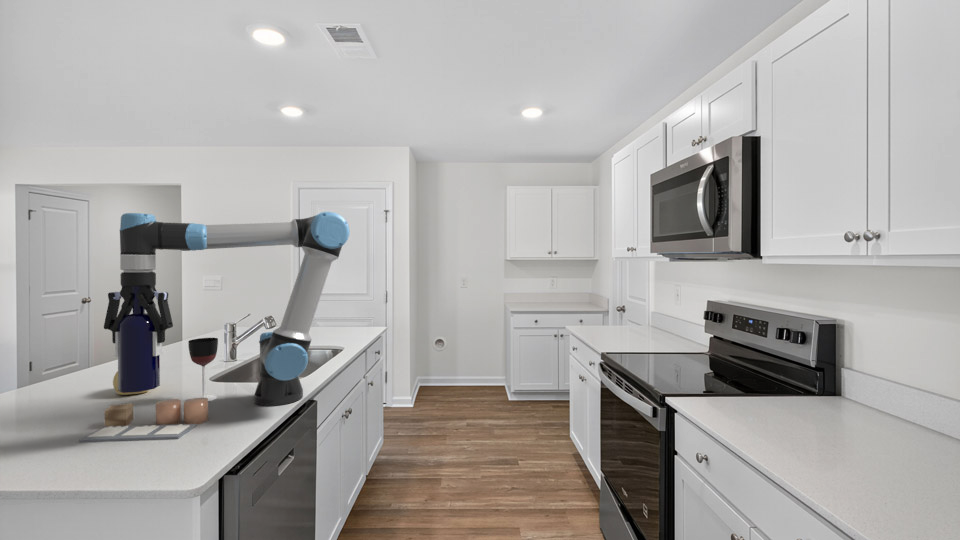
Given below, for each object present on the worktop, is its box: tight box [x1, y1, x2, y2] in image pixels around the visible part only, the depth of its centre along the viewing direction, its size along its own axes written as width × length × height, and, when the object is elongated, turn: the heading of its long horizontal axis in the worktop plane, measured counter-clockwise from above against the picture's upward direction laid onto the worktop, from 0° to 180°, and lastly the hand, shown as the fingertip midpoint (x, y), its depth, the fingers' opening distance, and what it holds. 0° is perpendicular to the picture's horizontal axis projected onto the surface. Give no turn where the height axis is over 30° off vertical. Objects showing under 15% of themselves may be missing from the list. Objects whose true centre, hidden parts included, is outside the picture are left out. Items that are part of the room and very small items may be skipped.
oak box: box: [103, 402, 134, 427], centre depth 127 cm, size 5×5×5 cm
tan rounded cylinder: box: [183, 397, 209, 425], centre depth 129 cm, size 6×6×6 cm
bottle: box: [117, 286, 161, 393], centre depth 119 cm, size 9×9×30 cm
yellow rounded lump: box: [112, 370, 150, 396], centre depth 155 cm, size 11×12×11 cm
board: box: [78, 423, 197, 443], centre depth 120 cm, size 24×9×1 cm, turn 96°
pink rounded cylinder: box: [155, 398, 182, 425], centre depth 128 cm, size 6×6×6 cm
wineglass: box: [187, 337, 219, 402], centre depth 149 cm, size 8×9×20 cm
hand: (139, 355), depth 119 cm, fingers closed on bottle, 8 cm apart
